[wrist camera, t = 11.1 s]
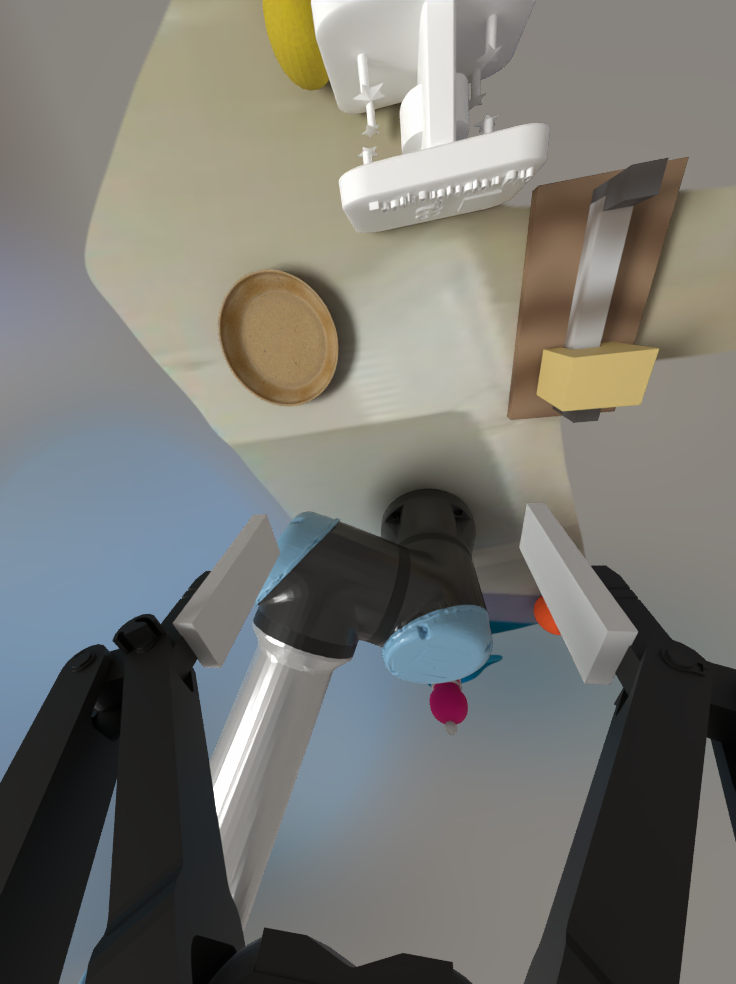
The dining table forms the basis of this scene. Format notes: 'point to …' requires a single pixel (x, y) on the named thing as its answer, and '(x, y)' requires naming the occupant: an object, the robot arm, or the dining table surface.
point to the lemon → (295, 41)
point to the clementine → (545, 616)
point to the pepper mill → (448, 704)
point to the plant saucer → (278, 337)
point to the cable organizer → (427, 105)
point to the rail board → (561, 272)
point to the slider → (595, 376)
